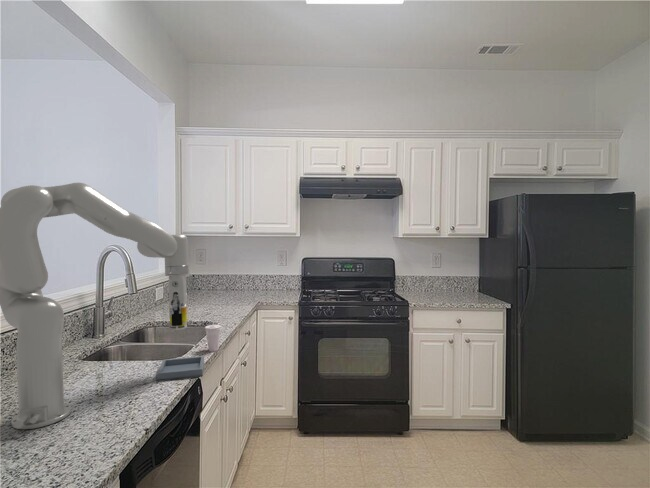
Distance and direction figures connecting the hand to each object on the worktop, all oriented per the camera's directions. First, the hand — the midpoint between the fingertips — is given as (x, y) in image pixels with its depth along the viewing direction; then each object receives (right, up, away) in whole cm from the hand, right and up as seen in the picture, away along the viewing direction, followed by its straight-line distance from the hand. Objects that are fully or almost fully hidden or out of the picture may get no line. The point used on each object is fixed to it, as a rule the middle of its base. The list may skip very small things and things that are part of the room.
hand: (178, 322), depth 132 cm
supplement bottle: (0, -2, 0) cm, 2 cm away
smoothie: (+5, -16, +25) cm, 30 cm away
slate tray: (+1, -17, +1) cm, 17 cm away
